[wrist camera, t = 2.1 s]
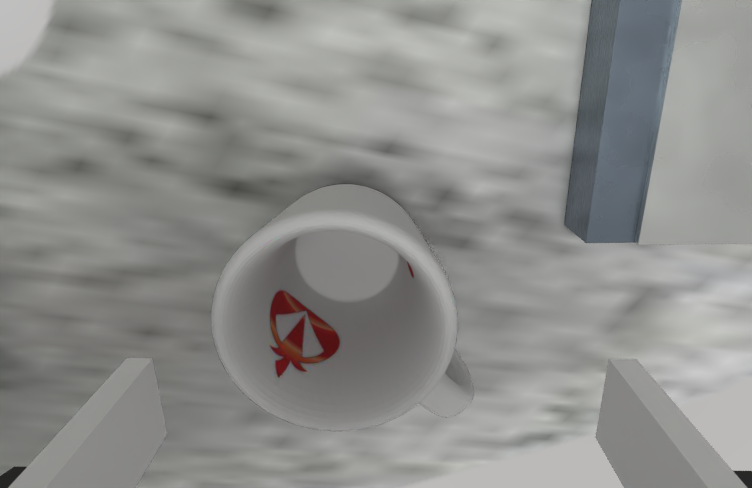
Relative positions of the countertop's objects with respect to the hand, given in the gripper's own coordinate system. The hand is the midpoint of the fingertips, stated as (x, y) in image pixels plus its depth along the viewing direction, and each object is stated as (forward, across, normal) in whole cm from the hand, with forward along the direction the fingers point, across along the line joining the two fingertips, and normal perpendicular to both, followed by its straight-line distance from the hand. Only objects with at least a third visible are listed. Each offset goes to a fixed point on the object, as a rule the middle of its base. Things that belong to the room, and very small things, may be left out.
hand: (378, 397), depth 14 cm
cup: (+10, -1, 0) cm, 10 cm away
